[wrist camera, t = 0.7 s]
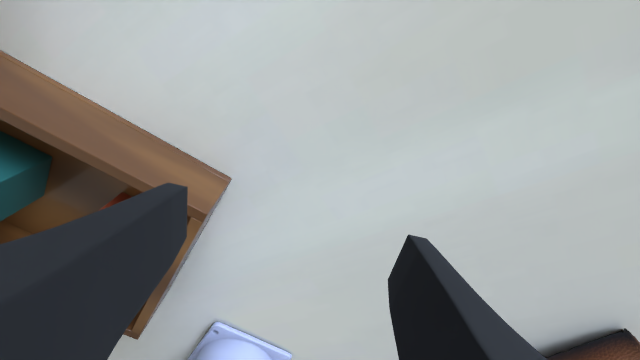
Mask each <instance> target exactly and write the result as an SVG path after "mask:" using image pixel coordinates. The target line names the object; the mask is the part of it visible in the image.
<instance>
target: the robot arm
mask: <svg viewBox="0 0 640 360" xmlns="http://www.w3.org/2000/svg"><path fill="white" fill-rule="evenodd" d="M187 195H188V187H187V186H182V185H178V184H173V183H165V184H162V185H160V186H157V187H155V188H152V189H150V190H148V191H145V192H143V193H140V194H138V195H136V196H133V197H131V198H129V199H126V200H124V201H122V202H119V203H117V204H114V205H112V206H110V207H107V208H105V209H102V210H100V211H97V212H94V213H92V214H89V215H86V216H84V217H81V218H78V219H76V220H73V221H70V222H68V223H65V224H62V225H60V226H57V227H54V228H51V229H48V230H45V231H42V232H39V233H36V234H33V235H29V236H26V237H23V238H20V239H16V240H13V241H10V242H6V243H3V244H0V360H107V359H108V357H109V356H110V354H111V352H112V351H113V349H114V347H115V345H116V344H117V342H118V341H119V339H120V338H121V336H122V335H123V333H124V332H125V330H126V329H127V327H128V326H129V324H130V323H131V322H132V320H133V319H134V317H135V316H136V315H137V313H138V312H139V311H140V309H141V308H142V306H143V305H144V304H145V302H146V301H147V299H148V298H149V297H150V295H151V294H152V292H153V291H154V290H155V288H156V287H157V286H158V284H159V283H160V281H161V280H162V278H163V277H164V276H165V274H166V273H167V271H168V270H169V268H170V267H171V266H172V264H173V262H174V260H175V259H176V257H177V255H178V253H179V251H180V249H181V247H182V246H183V244H184V242H185V240H186V238H187ZM388 291H389V307H390V314H391V319H392V325H393V330H394V335H395V341H396V346H397V351H398V356H399V360H547V359H546V358H545V357H544V356H542V355H541V354H540V353H539V352H538V351H537V350H536V349H535V348H533V347H532V346H531V345H530V344H529V343H528V342H527V341H526V340H524V339H523V338H522V337H521V336H520V335H519V334H518V333H517V332H515V331H514V330H513V329H512V328H511V327H510V326H509V325H508V324H507V323H506V322H505V321H504V320H503V319H502V318H501V317H500V316H499V315H498V314H497V313H496V312H495V311H494V310H493V309H492V308H491V307H490V306H489V305H488V304H487V303H486V302H485V301H484V300H483V299H482V298H481V297H480V296H479V295H478V294H477V293H476V292H475V291H474V290H473V289H472V288H471V287H470V285H469V284H468V283H467V282H466V281H465V280H464V279H463V278H462V277H461V276H460V275H459V273H458V272H457V271H456V270H455V269H454V268H453V267H452V266H451V264H450V263H449V262H448V261H447V260H446V259H445V258H444V257H443V256H442V254H441V253H440V252H439V251H438V250H437V249H436V248H435V247H434V246H433V245H432V244H431V243H430V242H429V241H428V240H427V239H426V238H421V237H417V236H412V235H408V236H407V238H406V241H405V243H404V245H403V247H402V250H401V252H400V254H399V256H398V258H397V261H396V263H395V265H394V267H393V269H392V272H391V274H390V276H389V278H388ZM291 357H292V356H291V354H290V353H288V352H286V351H284V350H282V349H279V348H277V347H275V346H273V345H270V344H268V343H266V342H264V341H261V340H259V339H257V338H255V337H252V336H250V335H248V334H245V333H243V332H241V331H239V330H236V329H234V328H232V327H230V326H227V325H225V324H223V323H220V322H215V323H214V324H213V325H212V326H211V328H210V329H209V331H208V332H207V333H206V335H205V336H204V337H203V339H202V340H201V341H200V343H199V344H198V346H197V347H196V348H195V350H194V351H193V352H192V354H191V355H190V357H189V358H188V359H187V360H291Z"/></svg>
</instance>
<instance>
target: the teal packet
mask: <svg viewBox="0 0 640 360" xmlns="http://www.w3.org/2000/svg"><path fill="white" fill-rule="evenodd" d="M51 161H52V156H50V155H48V154H46V153H44V152H42V151H40V150H38V149H36V148H34V147H32V146H30V145H28V144H26V143H24V142H22V141H20V140H18V139H16V138H14V137H12V136H10V135H8V134H6V133H4V132H2V131H0V221H2V220H4V219H5V218H7V217H9V216H10V215H12V214H14V213H15V212H17V211H19V210H20V209H22V208H24V207H26V206H27V205H29V204H31V203H32V202H34V201H36V200H37V199H39V198H41V197H42V196H44V193H45V188H46V184H47V179H48V175H49V170H50V166H51Z"/></svg>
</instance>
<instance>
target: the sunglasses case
mask: <svg viewBox="0 0 640 360" xmlns="http://www.w3.org/2000/svg"><path fill="white" fill-rule="evenodd" d="M546 359H547V360H640V343H639V342H638V340H637V339H636V338H635V337H634V336H633V335H632V334H631V333H630V332H629V331H628V330H627V329H624V330H622V331H621V332H619V333H615V334H611V335H609V336H606V337H604V338H601V339H597V340H594V341H592V342H589V343H587V344H584V345H581V346H577V347H574V348H572V349H571V350H569V351H568V352H561V353H558V354H555V355H553V356H551V357H549V358H546Z"/></svg>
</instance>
